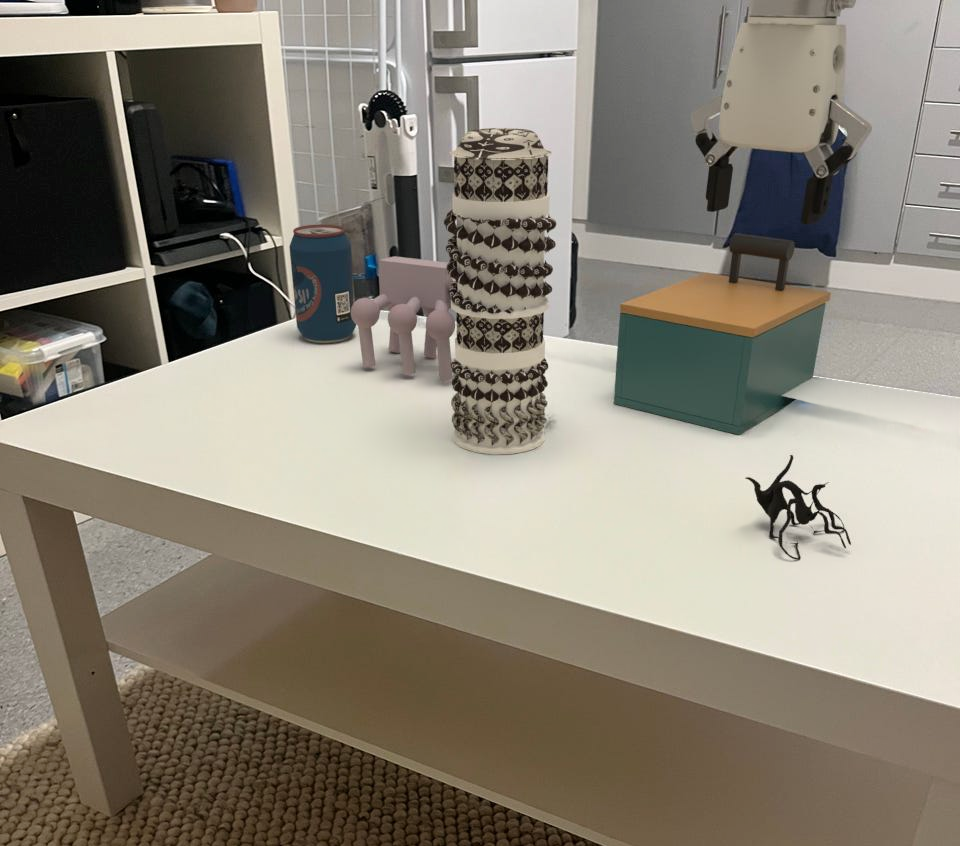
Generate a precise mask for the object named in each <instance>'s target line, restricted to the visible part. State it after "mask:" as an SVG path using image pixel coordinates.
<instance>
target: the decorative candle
mask: <svg viewBox="0 0 960 846" xmlns="http://www.w3.org/2000/svg"><path fill="white" fill-rule="evenodd" d="M551 155H553V153H552V151H551V150H547V149H545V148H544V145H543V143H542V140H541V139H540V137H539V135H538V134H537V133H536V132H535V131H533V130H529V129H525V128H512V127H511V128H510V127H491V128H490V127H489V128H479V129H478V128H477V129H473V130H472V129H471V130H469V131H467V132H465V133H464V134H463V136H462V137H461V140H460V141H459V144H458V146H457V148H455V150H453V151H449V156H452V157H453V183H454V185H453V186H454V187H453V190H454V192H452V193H451V194H452V195H451V197H452V198H451V199H452V209H450V210H449V211H448V212H447V214H446V215H445V216H446V217H444V219H443V225H444V226H445V230H446V231H447V232H448V233H450V234H452V237H450V238H448V239H447V244H446V246H445V251H446V253H448V256H449V262H447V263H448V264H447V266H446V268H447V270H448V274H449V276H450V277H452V278H454V279H455V280H456V281H455V282H453V283H452V284H451V288H450V290H449V296H450V297H451V308H450V309H451V310H452V311H453V312H456V313H455V317H456V319H455V328H456V337H455V338H454V359H453V360H451V368H452V374H454V375H455V376H454V377H453V378H452V379H451V380H450V381H451V386H452V390H453V391H455V392H456V393H455V394H454V395H453V396H452V398H451V401H450V404H451V408H452V409H453V413H452V415H451V423H452V425H453V428H454V429H453V431H452V432H453V434H452V435H453V442H454V443H456V445H457V446H458V447H460V448H462V449H465V450H468V451H470V452H473V453H478V454H486V455H514V454H521V453H525V452H529V451H532V450H533V449H536V448H539V447H540V446H541V445H543V443H544V442H545V441H546V434H545V430H544V428H545V424H546V423H547V422H548V419H547V418H546V413H545V411H546V408H547V406H548V403H549V402H548V401H547V400H546V398H547V397H546V394H545V393H544V391H545V390H546V388H547V387H548V386H549V385H548V384H549V382H548V381H547V377H546V376H545V374H546V371H548V369H549V363H548V361H547V359H546V358H545V356H546V355H545V354H546V341H545V338H544V321H545V320H544V319H545V317H544V316H545V312H546V311H547V310H548V309H550V301H549V298H548V297H547V295H550V294H551V293H552V292H553V286H551V285H550V284H549V283H547V281H546V280H544V279H546V278H547V277H548V276H550V275H551V274H552V273H553V272H554V268H553V266H552V265H551V264H549V263H548V262H547V259H545V255H546V254H547V253H549V252H550V251H551V250H553V249H554V248H555V247H556V243H557V242H556V241H555V240H554V239H552V238H551V237H550V236H549V235H548V236H546V235H545V234H549V233H550V232H551V231H552V230H554V229H555V228H556V227H557V221H556V219H554V218H552V217H551V216H550V194H549V192H548V184H549V156H551ZM546 216H547V217H546ZM450 258H451V259H450Z"/></svg>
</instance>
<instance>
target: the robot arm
mask: <svg viewBox="0 0 960 846" xmlns="http://www.w3.org/2000/svg"><path fill="white" fill-rule="evenodd" d="M856 2H857V0H750V1H749V7H748V8H749V10H748V18H747V22H741V23H740V25H739V30H738V32H737V35H736V39H735V42H734V45H733V49H732V52H731V57H730V60H729V64H728V67H727V73H726V77H725V81H724V82H725V83H724V87H723V92H722V95H720V96H718V97H717V98H715V99H713V100H711V101H709V102H707V103H705V104H704V105H702V106H700V107H698V108H696V109H694V110H692V111H691V112H690V113H689V121H690V124H691V127H692V131H693V134H694V135H695V140H694V141H695V144H696V146H697V148H698V149H699V151H700V153H701V154H702V156H703V157H704V164H705V165H706V166H707V167H708V173H707V183H706V191H705V200H706V201H707V204H706V211H707V212H709V213H714V212H718V211H722V210H726V209H727V208H728V207H729V202H730V195H731V186H732V180H733V173H734V166H733V163H730V159H731V158H732V157H733V156H734V155H735V153H737V151H738V150H739V149H740V148H745V149H756V150H765V151H775V152H787V153H804V156H805V157H806V159H807V161H808V163H809V165H810V167H811V169H812V171H813V175H812V176H810V177H808V179H807V181H806V185H805V192H804V198H803V204H802V209H801V216H800V223H801V224H802V225H805V226H809V225H812V224H815V223H818V222H820V221H821V220H822V217H823V215H825V214H826V212H827V210H828V205H829V199H830V195H831V188H832V182H833V178H834V176H835V175H837V174H838V173H839V172H840V170H842V169H843V167H845V166H846V165H847V164H848V163H849V162H851V161H852V160H853V159H854V158H855V157H856V156H857V154H858V151H859V150H860V149H861V147H862V146H863V145H864V143H865V141H866V140H867V139H868V137H869V136H870V135H871V133H872V130H873V126H872V124H871V123H870V122H869V121H867V120H866V119H864V118H863V117H862V116H860V115H859V114H858V113H856V111H854V110H853V109H852V108H850V107H849V106H847V105H846V104H845V103H843V100H844V99H843V98H844V88H845V78H846V59H847V25H846V24H837V21H838V17H841V13H842V11H844V10H845V9H853V8H854V7H855V5H856ZM718 116H719V119H718V137H719V139H718V138H717V137H716V136H715V134H714V133H713V132H712V127H711V121H712V119H714V118H715V117H718ZM840 127H841V128H842V129H844V131H846V134H847V135H846V138H845V140H844V142H843V144H842V145H841V146H840V147H839V148H838V149H837V150H836V151H834V150H833V149H832V147H831V146H832V145H833V144H834V143H835V142H836V139H837V136H838V133H839V129H840Z"/></svg>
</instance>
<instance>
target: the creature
mask: <svg viewBox="0 0 960 846" xmlns="http://www.w3.org/2000/svg"><path fill="white" fill-rule="evenodd" d="M793 461H794V455H793V454H790V455H789V460H788V463H787V464H786V466H785V468H784V469H783V470H781V472H780V473H779V474H778V475H777V476H776V478H775V479H774V480H773V482H772V483H771V484H770V485H769V487H768V488H766V489H765V490H762V489H761V487H762V486H761V484H760V483H759V482H758V481H757V480H755V479H754V478H753V477H749V476H746V477H745V478H744V479H745V480H747V481H750V482H751V483H752V484H753V487H754V489H753V491H754V493H755V497H756V501H757V503H758V504H759V505H760V507H761V508H762V509H763V512H765V515H767V516H768V517H769V519H770V520H769V526H770V527H769V532H768V533H769V534H768V537H769V539H773V540H774V539H777V542H778V545H779V547H780V549H781V550H782V551H783V553H784V554H785V555H786V556H788V557H789V558H791V559H793V560H799V561H800V559H801V557H802V556H801V553H800V551H799V542H789V545H790V544H792V545H795V548H796V553H797V555H798V557H794V556H792V555H791V554H789V552H787V550H786V549H785V548H784V547H783V542H784V543H786V544H788V542H786V541H783V533H784V532H785V530H786V529H787V528H788V527H789V524H792V525H793V526H799V525H803V526H805V525H808V526H809V527H810V528H811V529H812V530H813V534H817V533H822V532H824V533H825V534H827V535H829V534H835V535H837V536H838V537H839V538H840V541H841V544H842V546H843V548H844V549H846V548H847V545H846V543H845V541H844V539H843V538H842V537H843V536H842V535H841V534H842V533H845V537H846V540H847V543H848V544H849V545H850V546H852V541H851V539H850V536H849V533H848V531H847V529H846V528H845V524H844V523H843V521H842V519H841V518H840V516H839V515H838V514H836V513H835V512H833V511H832V510H831V509H830V508H827V507H825V506H823V505H822V503H821V501H820V500H819V498H818V494H819V492H820V491H821V490H822V489H824V488H825V487H826V486H827V484H829V482H830V481H827V482H826V483H823V484H822V483H819V484H814V485H813V487H812V489H811V490H810V491H809V492H806V491H804V490H803V489H802V488H801V487H800V486H798V485H797V484H796V483H795V482H794V481H791V480H788V479H787V480H782V479H783V478H784V476H785V475H786V474H787V473H788V472H789V470H790V469H791V466H792V464H793ZM781 480H782V481H781ZM784 488H785V489H786V490H788V491H790V492H791V494H792V496H793V498H790V499H788V502H787V500H786V498H785V496H784V491H783V489H784ZM802 494H803V495H805V496H807V495H809V494H811V499H812V502H811V504H810V505H809V506H808V505H807V504H806V502H805V500H804V497H803V495H802ZM793 504H794V506H795V507H794V512H793V510H792V509H791V507H792V505H793ZM813 504H814V507H815V509H816V511H814V512H813V510H812V506H813ZM783 510H785V511H786V521H785V522H784V524H783V526H782V527H781V528H780V529H779V531H778V536H776V535H774V531H775V530H774V529H775V525H774V524H775V522H776V521H777V519H778V517H779V515H780V513H781V512H782V511H783ZM823 512H824V513H827V514H828V516H829V518H828V516H826V514H824V513H823ZM818 515H820V516H821V517H822V520H823V522H824V525H823V527H824V528H823V530H814V528H813V527H812V526H811V525H810V524H809V523H810V522H812V521H815V520H816V517H817V516H818ZM835 517H836V518H837V519H838V520H839V521H840V522H841V524H842V526H838V525H836V520H835ZM795 519H796V521H797V522H796V521H795ZM828 519H830V524H829V520H828ZM790 522H791V523H790ZM829 525H830V526H831V529H833V530H831V529H830V527H829ZM839 530H841V531H839Z"/></svg>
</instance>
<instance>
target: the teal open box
mask: <svg viewBox="0 0 960 846" xmlns="http://www.w3.org/2000/svg"><path fill="white" fill-rule="evenodd" d="M826 305H827V302H826V303H824V304H821V305H819V306H817V307H815V308H813V309H811V310H809V311H807V312H805V313H803V314H801V315H799V316H797V317H795V318H793V319H790V320H788V321H786V322H784V323H782V324H780V325H778V326H776V327H774V328H772V329H770V330H768V331H766V332H764V333H762V334H759V335H757V336H755V337H753V338H752V337H747V336H742V335H736V334H731V333H726V332H721V331H716V330H710V329H705V328H700V327H695V326H689V325H684V324H679V323H674V322H668V321H663V320H658V319H653V318H647V317H642V316H637V315H632V314H627V313H621V312H619V319H618V321H619V322H618V337H617V348H616V349H617V350H616V365H615V377H614V378H615V379H614V393H613V405H618V406H622V407H626V408H630V409H633V410H638V411H642V412H646V413H649V414H654V415H658V416H662V417H666V418H670V419H674V420H678V421H682V422H686V423H690V424H694V425H698V426H702V427H706V428H711V429H714V430H718V431H722V432H726V433H731V434H734V435H741V434H744V433H745V432H747V431H748V430H749V429H751V428H753V427H755V426H756V425H758V424H760V423H761V422H763V421H764V420H766V419H768V418H769V417H771V416H772V415H774V414H776V413H778V412H779V411H780V410H782V409H784V408H787V406H789V405H791V404H792V403H794V402H795V401H797V400H798V398H795V397H794V398H793V397H790V396H785V394H786V393H787V394H788V393H789V392H791V391H792V390H794V389H795V388H797V387H799V386H800V385H802V384H804V383H806V382H807V381H809V380H811V379H812V378H813V377H814V371H815V366H816V361H817V356H818V350H819V344H820V338H821V334H822V327H823V322H824V318H825V317H824V316H825V311H826Z"/></svg>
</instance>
